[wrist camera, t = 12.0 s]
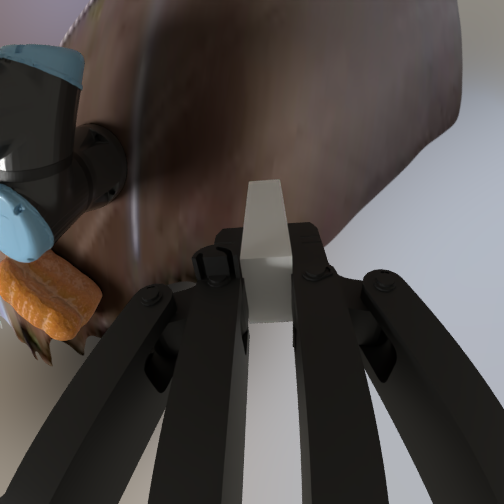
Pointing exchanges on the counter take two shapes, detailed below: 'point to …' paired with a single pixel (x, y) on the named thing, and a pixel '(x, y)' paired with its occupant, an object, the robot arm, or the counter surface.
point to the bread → (49, 294)
